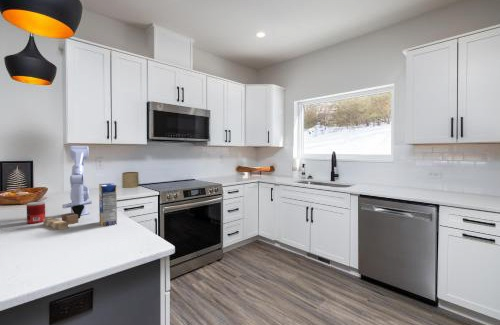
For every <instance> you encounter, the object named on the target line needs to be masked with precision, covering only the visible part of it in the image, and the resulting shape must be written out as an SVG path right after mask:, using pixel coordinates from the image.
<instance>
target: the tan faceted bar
mask: <svg viewBox="0 0 500 325" xmlns="http://www.w3.org/2000/svg"><path fill="white" fill-rule="evenodd" d="M42 223H43V226H47V227H50V228H52V229H56V230H57V231H61V230H65V229H69V225H68V222H65V221H62V219H59V218H56V217H48V218H45V219H43V222H42Z"/></svg>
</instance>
